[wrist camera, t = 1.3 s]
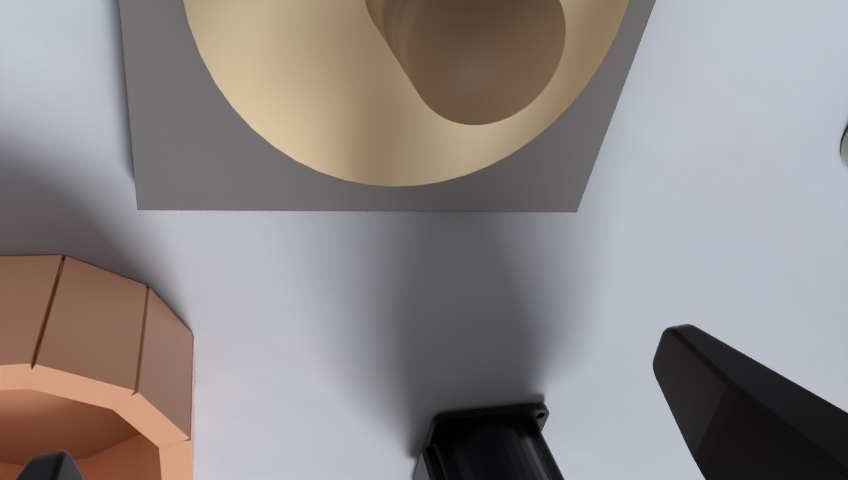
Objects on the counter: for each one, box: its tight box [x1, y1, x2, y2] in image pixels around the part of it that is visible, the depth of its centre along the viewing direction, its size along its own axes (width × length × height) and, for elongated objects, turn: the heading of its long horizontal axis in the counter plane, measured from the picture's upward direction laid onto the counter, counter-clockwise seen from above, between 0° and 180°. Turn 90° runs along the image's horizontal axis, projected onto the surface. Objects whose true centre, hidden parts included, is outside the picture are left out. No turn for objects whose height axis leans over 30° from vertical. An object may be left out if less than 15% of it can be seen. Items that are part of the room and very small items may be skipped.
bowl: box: [0, 255, 195, 480], centre depth 22 cm, size 11×11×5 cm
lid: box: [183, 0, 629, 187], centre depth 16 cm, size 13×13×6 cm
